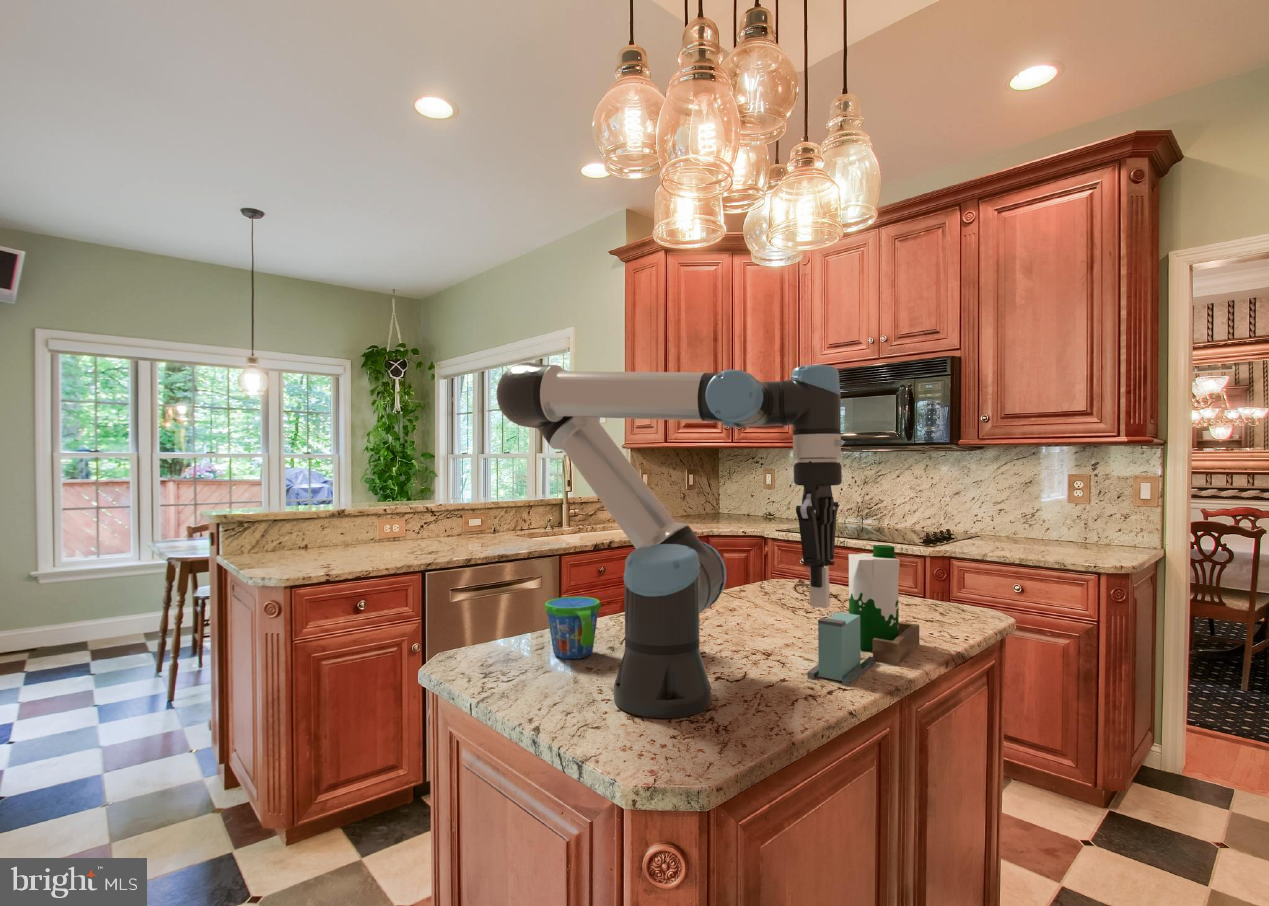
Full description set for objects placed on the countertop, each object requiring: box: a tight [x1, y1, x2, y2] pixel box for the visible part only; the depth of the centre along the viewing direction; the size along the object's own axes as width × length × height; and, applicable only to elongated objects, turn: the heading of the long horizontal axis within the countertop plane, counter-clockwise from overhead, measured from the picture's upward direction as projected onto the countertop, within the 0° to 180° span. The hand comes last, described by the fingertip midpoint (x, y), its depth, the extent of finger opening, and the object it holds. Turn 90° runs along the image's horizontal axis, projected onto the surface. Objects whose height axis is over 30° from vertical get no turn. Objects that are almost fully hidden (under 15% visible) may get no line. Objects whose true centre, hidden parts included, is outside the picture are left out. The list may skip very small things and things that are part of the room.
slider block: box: [817, 611, 862, 682], centre depth 111 cm, size 4×10×10 cm, turn 143°
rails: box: [806, 655, 877, 687], centre depth 112 cm, size 7×15×1 cm, turn 143°
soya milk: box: [848, 544, 901, 652], centre depth 127 cm, size 9×9×20 cm
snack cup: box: [544, 596, 602, 660], centre depth 122 cm, size 16×10×10 cm
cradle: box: [872, 621, 920, 666], centre depth 126 cm, size 14×16×4 cm
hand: (819, 606), depth 103 cm, fingers closed
